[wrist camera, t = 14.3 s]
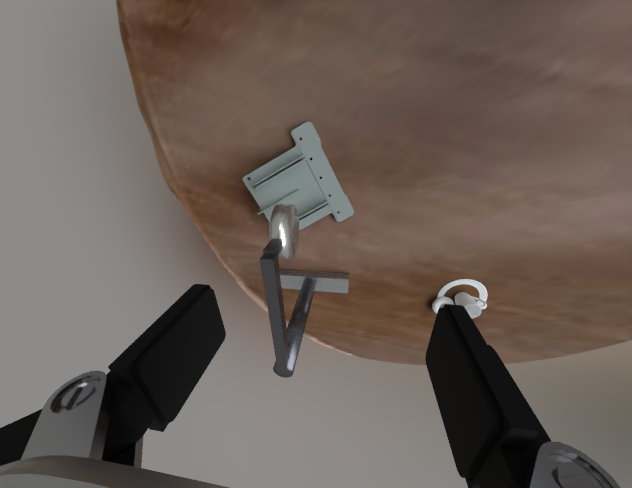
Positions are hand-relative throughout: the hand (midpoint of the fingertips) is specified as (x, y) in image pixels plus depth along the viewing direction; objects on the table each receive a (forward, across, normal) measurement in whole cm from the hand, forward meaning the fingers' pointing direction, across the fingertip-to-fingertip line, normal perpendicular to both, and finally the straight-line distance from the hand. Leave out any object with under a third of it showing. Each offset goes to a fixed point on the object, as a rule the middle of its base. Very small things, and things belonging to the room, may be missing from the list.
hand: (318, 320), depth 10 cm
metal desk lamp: (+28, +6, +10) cm, 30 cm away
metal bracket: (+29, +8, +1) cm, 30 cm away
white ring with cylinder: (+29, -18, +18) cm, 39 cm away
